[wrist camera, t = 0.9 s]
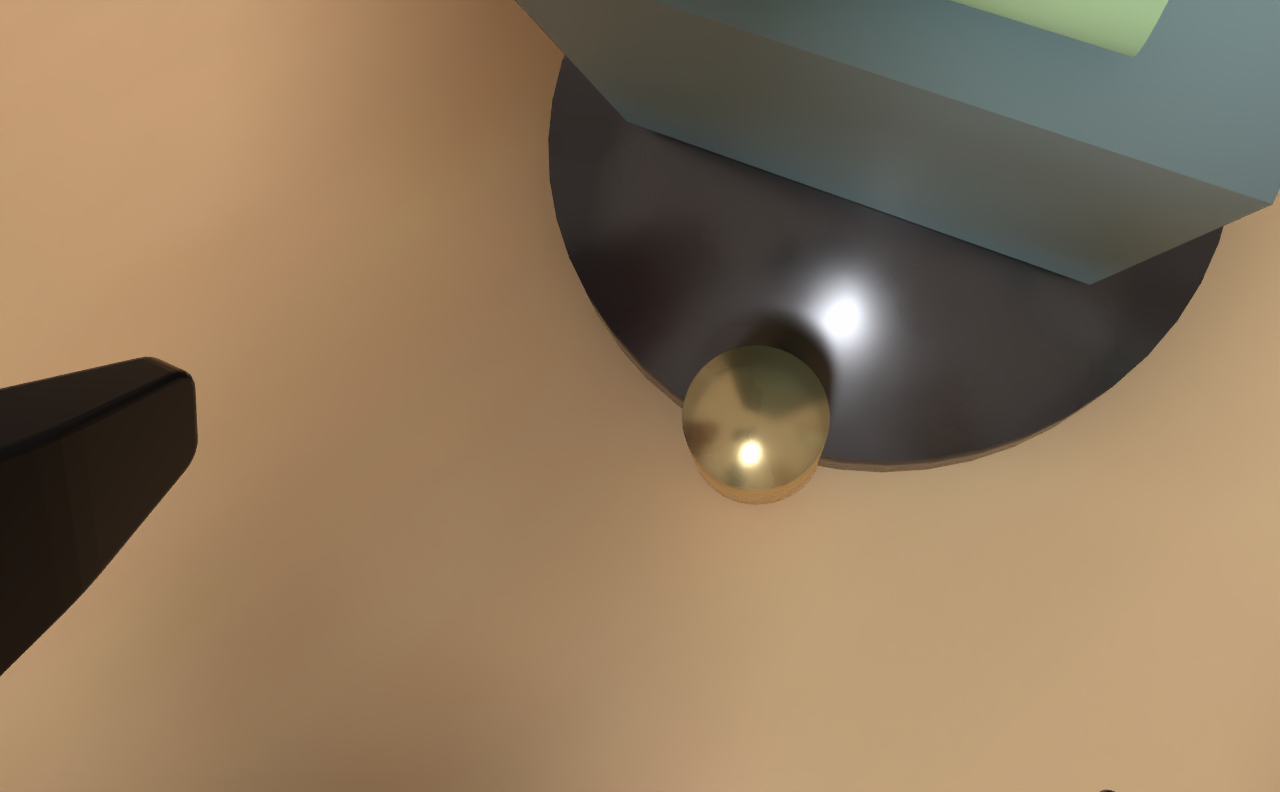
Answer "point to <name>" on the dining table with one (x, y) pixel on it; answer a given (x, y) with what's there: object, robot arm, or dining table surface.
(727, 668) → the dining table surface
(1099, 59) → the grey upright slab
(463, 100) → the dining table surface
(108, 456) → the robot arm
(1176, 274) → the base
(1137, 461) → the dining table surface
